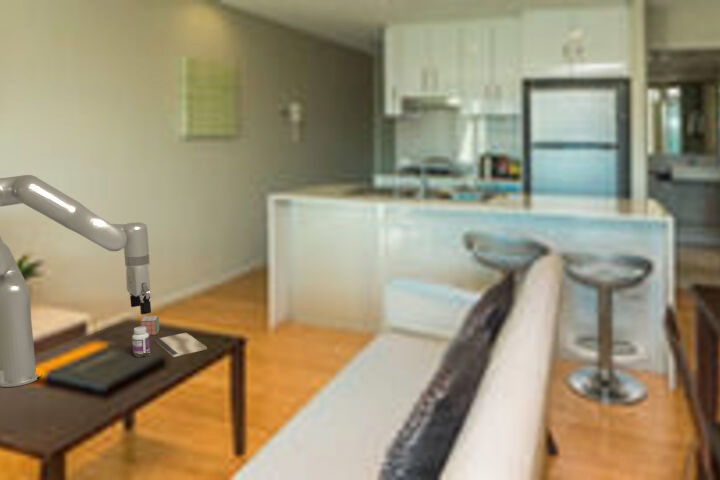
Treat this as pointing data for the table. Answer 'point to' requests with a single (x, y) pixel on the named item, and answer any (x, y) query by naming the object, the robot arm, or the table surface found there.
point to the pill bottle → (140, 340)
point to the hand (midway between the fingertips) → (140, 309)
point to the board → (180, 344)
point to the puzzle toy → (151, 324)
